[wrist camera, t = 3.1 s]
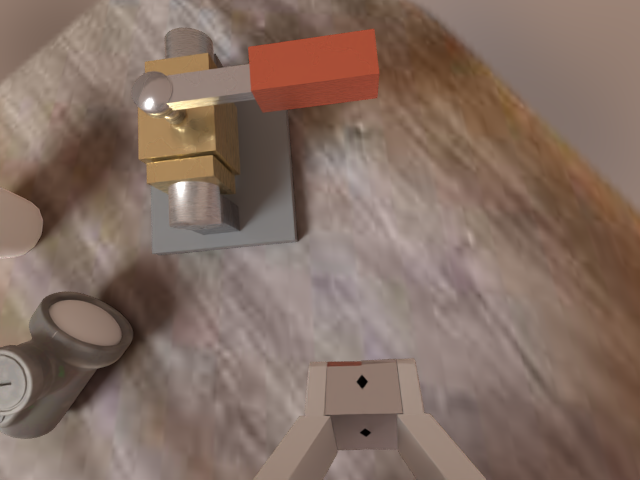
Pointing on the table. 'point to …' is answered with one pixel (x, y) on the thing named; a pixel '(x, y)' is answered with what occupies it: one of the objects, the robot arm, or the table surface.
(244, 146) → the slate plate
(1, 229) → the foam cup
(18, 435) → the pipe fitting
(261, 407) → the table surface
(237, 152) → the pipe and valve
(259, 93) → the valve lever
